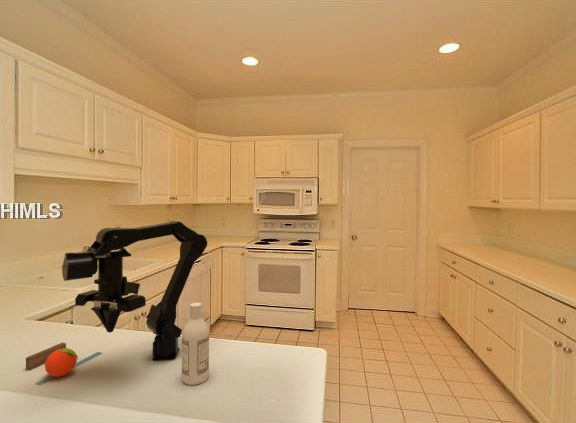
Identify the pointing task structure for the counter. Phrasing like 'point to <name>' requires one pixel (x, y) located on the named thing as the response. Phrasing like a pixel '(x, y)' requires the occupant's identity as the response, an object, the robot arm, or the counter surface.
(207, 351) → the bath foam
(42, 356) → the rail
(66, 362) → the clementine
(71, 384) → the counter surface
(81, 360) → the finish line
